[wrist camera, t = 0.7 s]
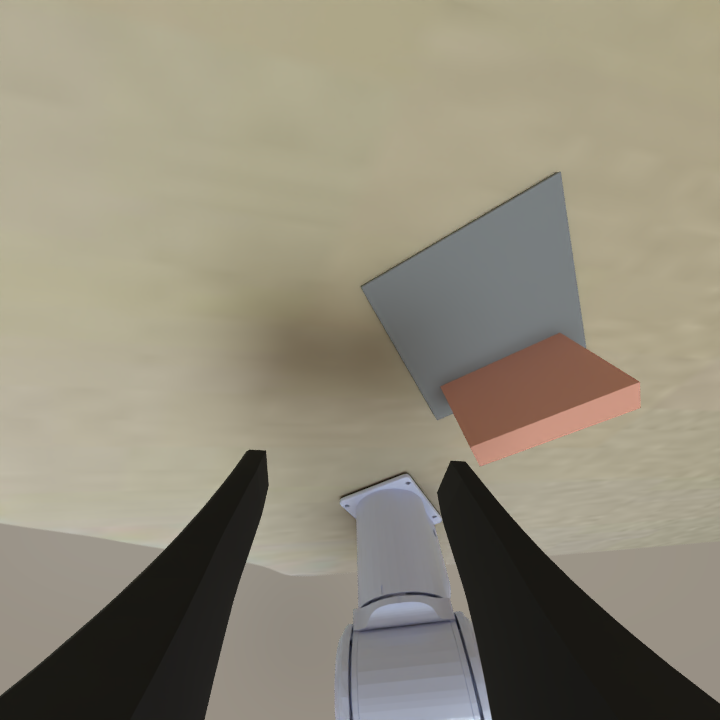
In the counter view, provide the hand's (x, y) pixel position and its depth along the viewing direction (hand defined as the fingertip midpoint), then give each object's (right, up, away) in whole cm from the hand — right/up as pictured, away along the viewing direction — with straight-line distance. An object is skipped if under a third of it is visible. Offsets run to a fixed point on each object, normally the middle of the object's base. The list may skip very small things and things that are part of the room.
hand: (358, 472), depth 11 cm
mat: (+9, +7, +8) cm, 14 cm away
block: (+11, +4, +10) cm, 15 cm away
